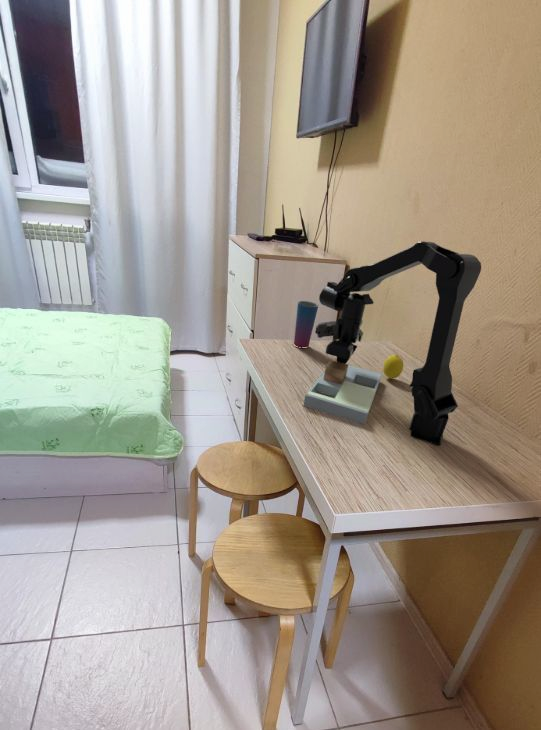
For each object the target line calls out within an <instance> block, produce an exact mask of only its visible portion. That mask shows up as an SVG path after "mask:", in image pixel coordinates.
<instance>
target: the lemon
mask: <svg viewBox="0 0 541 730" xmlns="http://www.w3.org/2000/svg"><path fill="white" fill-rule="evenodd" d="M382 369H383V374H384V375H385V376H386V377H387V378H388V380H392V379H396V378H398V377H399V376H401V374H402V373H403V371H404V361H403V358H402V357H400V356H399V355H398V354H393V355H389V356H388V357H387V358H386V359H385V361H384V363H383V367H382Z"/></svg>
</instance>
